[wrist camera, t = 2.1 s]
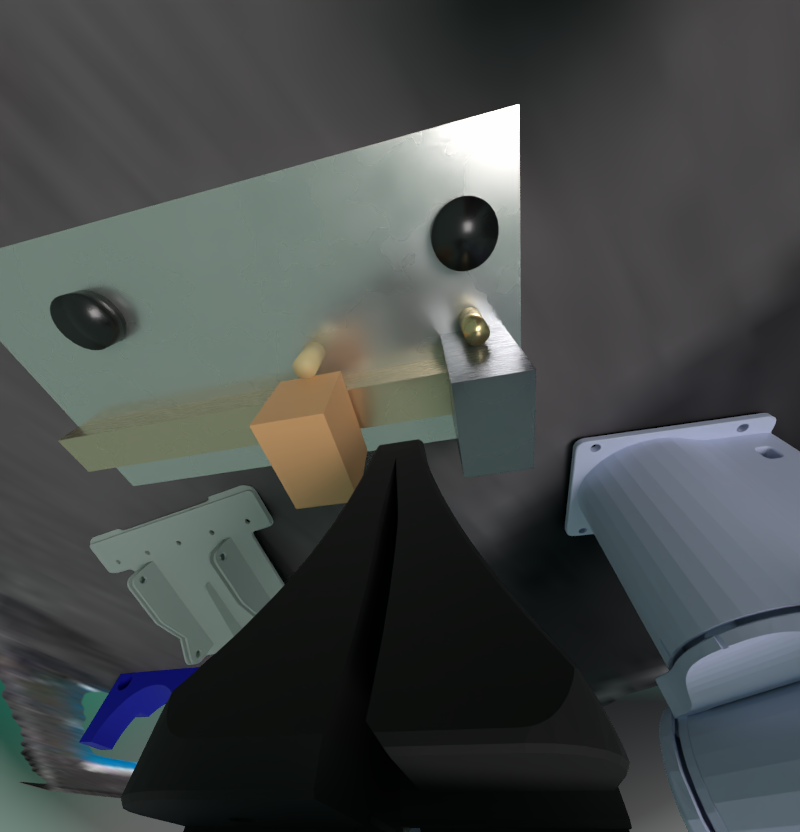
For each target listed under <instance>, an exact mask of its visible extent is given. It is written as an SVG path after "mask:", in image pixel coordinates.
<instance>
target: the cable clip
mask: <svg viewBox="0 0 800 832" xmlns="http://www.w3.org/2000/svg"><path fill="white" fill-rule="evenodd" d="M198 668H199V667H197V668H185V669H173V670H161V671H149V672H138V673H126V674H120V676H119V678H118V679H117V681H116V683H115V684H114V686H113V687H112V689H111V691H110V692H109V694H108V696H107V697H106V699H105V701H104V702H103V704H102V706H101V707H100V709H99V711H98V712H97V714H96V716H95V717H94V719H93V720H92V722H91V724H90V725H89V727H88V729H87V730H86V732H85V733H84V735H83V737H82V738H81V740H80V743H83V744H86V745H88V746H91V747H94V748H97V749H100V750H108V749H112V748H113V747H114V745H115V743H116V742H117V740H118V739H119V737H120V736H121V734H122V733H123V731H124V730H125V729H126V727H127V726H128V725H129V724H130V722H131V721H132V720H133V719H134V718H135V717H149V716H150V715H151V714H152V713H153V712H154V711H156V710H157V709H158V708H160V707H161V706H163V705H164V704H166V703H167V701H168V699H169V697H170V695H171V693H172V691H173V690H174V689H176V688H177V687H178V686H179V685H180V684H181V683H183V682H184V681H185V680H186V679H187V678H188V677H189V676H191V675H192V674H193V673H194V672H195V671H196V670H197V669H198Z"/></svg>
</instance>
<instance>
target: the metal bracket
mask: <svg viewBox="0 0 800 832" xmlns="http://www.w3.org/2000/svg"><path fill="white" fill-rule="evenodd" d="M208 498H209V500H208V501H207V502H204V503H201V504H198V505H195V506H193V507H190V508H187V509H184V510H181V511H178V512H175V513H172V514H170V515H167V516H164V517H161V518H158V519H155V520H152V521H149V522H147V523H144V524H141V525H138V526H135V527H132V528H129V529H126V530H121V529H116V530H114V531H111V532H108V533H105V534H102V535H99V536H97V537H94V538H92V540H91V545H90V548H91V550H92V551H93V552H94V554H95V555H96V556H97V557H98V559H99V560H100V561H101V563H102V564H103V565H104V566H105V568H106V569H107V570H108V571H109V572H110V573H118V572H122V571H125V570H128V569H131V570H134V571H135V573H133V574H132V575H131V576H130V577H129V579H128V582H127V586H128V588H129V590H130V591H131V592H132V594H133V595H134V596H135V598H136V599H137V600H138V601H139V603H140V604H141V605H142V607H143V608H144V609H145V610H146V612H147V613H148V614H149V616H150V617H151V618H152V620H153V621H154V622H155V623H156V624H157V625H158V626H160V627H162V628H163V629H165V630H166V631H168V632H170V633H171V634H173V635H174V636H176V637H178V638H179V639H180V641H181V646H182V650H183V654H184V659H185V662H186V663H187V664H188V665H192V664H197V663H200V662H201V661H202V660H203V659H204V657H205V656H206V655H211V654H215V653H216V652H217V651H219V650H220V649H221V648H222V647H223V646H224V645H225V644H226V643H227V642H228V641H230V640H231V639H232V638H233V637H234V636H235V635H236V634H237V633H238V632H239V631H240V630H241V629H242V628H243V627H244V626H245V625H246V624H247V623H248V622H249V621H250V620H251V619H252V618H253V617H254V616H255V615H256V614H257V613H258V612H259V611H260V610H261V609H262V608H263V607H264V606H265V605H266V604H267V603H268V602H269V601H270V600H271V599H272V598H273V597H274V596H275V595H276V594H277V593H278V591H279V590H280V589H281V588H282V587H283V586H284V585H285V584H284V583H283V581H282V580H281V578H280V576H279V575H278V573H277V571H276V570H275V568H274V567H273V565H272V563H271V562H270V560H269V559H268V557H267V555H266V554H265V552H264V550H263V549H262V547H261V546H260V544H259V542H258V541H257V539H256V537H255V536H254V533H253V532H254V531H257V530H260V529H263V528H267V527H270V526H271V525H272V524H273V522H274V521H273V518H272V517H271V515H270V513H269V512H268V510H267V508H266V507H265V505H264V503H263V501H262V500H261V498H260V496H259V495H258V493H257V491H256V490H255V489H254V488H253V487H252V486H246V485H241V486H238V487H235V488H233V489H230V490H227V491H224V492H221V493H218V494H216V495H213V496H210V497H208ZM246 519H248V520H249V521H250V522H247V520H246ZM211 530H212V531H214V533H213V532H212V531H211ZM179 541H180V542H181V543H180V542H179ZM139 580H140V581H139Z"/></svg>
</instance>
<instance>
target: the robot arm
mask: <svg viewBox="0 0 800 832" xmlns="http://www.w3.org/2000/svg"><path fill="white" fill-rule="evenodd" d="M775 423H776V418H775V417H773V416H771V415H770V414H768V413H760V414H753V415H745V416H738V417H731V418H724V419H717V420H710V421H703V422H696V423H688V424H681V425H674V426H667V427H660V428H653V429H646V430H639V431H632V432H624V433H617V434H610V435H603V436H596V437H589V438H583V439H580V440H578V441H576V442H575V444H574V446H573V453H572V462H571V472H570V481H569V491H568V500H567V510H566V519H565V531H566V533H567V534H568V535H570V536H579V535H589V534H594V535H595V537H596V538H597V540H598V542H599V544H600V546H601V548H602V549H603V551H604V553H605V555H606V557H607V558H608V560H609V562H610V564H611V566H612V567H613V569H614V571H615V573H616V575H617V577H618V578H619V580H620V582H621V584H622V586H623V587H624V589H625V591H626V593H627V595H628V596H629V598H630V600H631V602H632V604H633V606H634V607H635V609H636V611H637V613H638V615H639V616H640V618H641V620H642V622H643V624H644V625H645V627H646V629H647V631H648V633H649V634H650V636H651V638H652V640H653V642H654V644H655V645H656V647H657V649H658V651H659V653H660V654H661V656H662V658H663V660H664V662H665V663H666V665H667V667H668V669H669V671H668V672H667V673H665V674H663V675H661V676H659V677H657V678H656V682H657V684H658V686H659V688H660V690H661V692H662V694H663V696H664V698H665V699H666V702H667V704H668V705H669V707H667V708H666V709H665V710H664V712H663V714H662V716H661V720H660V726H659V728H660V744H661V750H662V756H663V760H664V765H665V770H666V774H667V778H668V781H669V785H670V788H671V791H672V794H673V796H674V799H675V802H676V805H677V807H678V809H679V812H680V814H681V817H682V819H683V821H684V823H685V825H686V828H687V830H688V832H800V451H798V450H796V449H795V448H793V447H792V446H790V445H789V444H787V443H786V442H784V441H782V440H781V439H779V438H778V437H776V436H775V435H773V434H772V433H771V431H772V429H773V427H774V425H775ZM595 444H597V445H595ZM593 445H595V446H594V447H592V446H593ZM628 769H629V760H628V757H627V754H626V752H625V750H624V747H623V745H622V743H621V741H620V739H619V737H618V735H617V733H616V731H615V729H614V727H613V725H612V723H611V721H610V719H609V717H608V716H607V714H606V712H605V711H604V709H603V707H602V705H601V704H600V702H599V701H598V699H597V697H596V696H595V694H594V692H593V691H592V689H591V688H590V686H589V685H588V683H587V682H586V680H585V678H584V677H583V675H582V674H581V672H580V671H579V669H578V667H577V666H576V664H575V663H574V662H573V661H572V660H571V659H570V658H569V657H568V655H567V654H566V653H565V652H564V651H563V650H562V649H561V648H560V647H559V646H558V645H557V644H556V643H555V642H554V641H553V640H552V639H551V638H550V636H549V635H548V634H547V633H546V632H545V631H544V630H543V629H542V628H541V627H540V626H539V625H538V623H537V622H536V621H535V620H534V619H533V618H532V617H531V616H530V614H529V613H528V612H527V611H526V610H525V609H524V608H523V606H522V605H521V604H520V603H519V602H518V601H517V600H516V598H515V597H514V596H513V595H512V594H511V593H510V591H509V590H508V589H507V588H506V586H505V585H504V584H503V583H502V581H501V580H500V579H499V578H498V576H497V575H496V574H495V573H494V571H493V570H492V569H491V568H490V566H489V565H488V564H487V563H486V561H485V560H484V559H483V557H482V556H481V555H480V553H479V552H478V551H477V549H476V548H475V546H474V545H473V544H472V542H471V541H470V539H469V538H468V536H467V535H466V534H465V532H464V531H463V529H462V528H461V526H460V524H459V523H458V521H457V520H456V518H455V517H454V515H453V513H452V512H451V510H450V508H449V506H448V505H447V503H446V501H445V500H444V498H443V496H442V494H441V492H440V490H439V488H438V486H437V484H436V482H435V480H434V478H433V476H432V473H431V471H430V469H429V466H428V463H427V458H426V454H425V449H424V445H423V441H421V440H419V439H416V440H410V441H403V442H396V443H390V444H383V445H379V446H378V448H377V449H376V451H375V453H374V455H373V457H372V459H371V461H370V463H369V465H368V467H367V469H366V471H365V473H364V474H363V476H362V478H361V480H360V482H359V483H358V485H357V487H356V488H355V490H354V492H353V494H352V495H351V497H350V499H349V500H348V502H347V503H346V505H345V507H344V508H343V510H342V511H341V513H340V514H339V516H338V517H337V519H336V520H335V522H334V523H333V525H332V526H331V528H330V529H329V530H328V532H327V533H326V535H325V536H324V537H323V539H322V540H321V541H320V543H319V544H318V545H317V546H316V548H315V549H314V550H313V552H312V553H311V554H310V555H309V557H308V558H307V559H306V560H305V562H304V563H303V564H302V565H301V566H300V567H299V569H298V570H297V571H296V572H295V573H294V574H293V576H292V577H291V578H290V579H289V580H288V581H287V583H286V584H285V585H284V586H283V587H282V588H281V589H280V590H279V591H278V593H277V594H276V595H275V596H274V597H273V598H272V599H271V600H270V601H269V602H268V603H267V604H266V605H265V606H264V607H263V608H262V609H261V610H260V611H259V612H258V613H257V614H256V615H255V616H254V617H253V618H252V619H251V620H250V621H249V622H248V623H247V624H246V625H245V626H244V627H243V628H242V629H241V630H240V631H239V632H238V633H237V634H236V635H235V636H234V637H233V638H232V639H231V640H230V641H228V642H227V643H226V644H225V645H224V646H223V647H222V648H221V649H220V650H219V651H217V652H216V653H215V654H214V655H213V656H212V657H211V658H210V659H208V660H207V661H206V662H205V663H204V664H203V665H202V666H201V667H199V668H198V669H197V670H196V671H195V672H194V673H193V674H192V675H191V676H189V677H188V678H187V679H186V680H185V681H184V682H183V683H181V684H180V685H179V686H178V687H177V688H176V689H174V690H173V691H172V693H171V695H170V697H169V699H168V701H167V703H166V705H165V707H164V709H163V711H162V713H161V715H160V717H159V719H158V721H157V723H156V725H155V727H154V730H153V732H152V734H151V736H150V738H149V740H148V742H147V744H146V747H145V748H144V750H143V752H142V755H141V757H140V759H139V761H138V763H137V765H136V767H135V769H134V771H133V773H132V775H131V778H130V780H129V782H128V784H127V786H126V788H125V790H124V792H123V794H122V796H121V801H122V805H123V808H124V809H125V810H127V811H129V812H132V813H135V814H138V815H142V816H146V817H150V818H154V819H158V820H163V821H166V822H171V823H175V824H179V825H183V826H185V829H184V831H183V832H409V831H410V829H411V828H420V830H421V832H629V829H631V828H632V827H631V823H630V819H629V816H628V813H627V810H626V808H625V805H624V802H623V799H622V796H621V794H620V791H619V788H618V786H619V784H620V783H621V782H622V781H623V779H624V778H625V777H626V774H627V772H628Z"/></svg>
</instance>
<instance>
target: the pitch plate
mask: <svg viewBox="0 0 800 832" xmlns="http://www.w3.org/2000/svg"><path fill="white" fill-rule="evenodd" d="M0 341H1V342H2V344H3V345H4V346H5V347H6V348H7V349H8V350H9V351H10V352H11V353H12V354H13V356H14V357H15V358H16V359H17V360H18V361H19V362H20V363H21V364H22V365H23V366H24V367H25V369H26V370H27V371H28V372H29V373H30V374H31V375H32V376H33V377H34V378H35V379H36V381H37V382H38V383H39V384H40V385H41V386H42V387H43V388H44V389H45V390H46V391H47V393H48V394H49V395H50V396H51V397H52V398H53V399H54V400H55V401H56V402H57V403H58V405H59V406H60V407H61V408H62V409H63V410H64V411H65V412H66V413H67V414H68V415H69V417H70V418H71V419H72V420H73V421H74V422H75V423H76V424H77V425H78V426H79V427H77V428H76V429H74V430H73V431H71V432H70V433H68V434H67V435H65V436H64V437H63V438H61V439H60V440H58V441H59V442H60V443H61V444H62V445H63V446H64V447H65V448H66V449H67V450H68V451H69V452H70V453H71V454H72V455H73V456H74V457H75V458H76V459H77V460H78V461H79V462H80V463H81V464H82V465H83V466H84V467H85V468H86V469H87V471H88V472H90V471H96V470H102V469H109V468H115V467H116V468H117V469H118V470H119V471H120V472H121V473H122V474H123V475H124V476H125V478H126V479H127V480H128V481H129V482H130V483H131V484H132V485H133V486H137V485H144V484H151V483H158V482H164V481H171V480H178V479H185V478H192V477H198V476H205V475H212V474H219V473H225V472H232V471H239V470H246V469H252V468H259V467H266V466H272V465H271V464H270V462H269V460H268V458H267V456H266V455H265V453H264V451H263V449H262V448H261V446H260V444H259V442H258V441H257V439H256V437H255V435H254V433H253V432H252V430H251V428H250V426H249V425H250V424H251V422H252V421H253V420H254V418H255V417H256V415H257V414H258V413H259V411H260V410H261V408H262V407H263V406H264V404H265V403H266V401H267V400H268V399H269V397H270V396H271V394H272V393H273V392H274V390H275V389H276V387H277V386H278V385H279V383H280V382H283V381H288V380H294V379H299V378H300V377H298V376H297V375H296V374H295V372H294V371H293V362H294V361H295V359H296V358H297V356H298V355H299V354H300V352H301V351H302V350H303V348H304V347H305V345H306V344H307V343H309V342H318V343H320V344H321V345H322V346H323V347H324V349H325V352H326V354H325V358H324V359H323V361H322V363H321V365H320V367H319V369H318V370H317V372H316V374H315V376H316V375H321V374H326V373H332V372H337V371H341V374H342V376H343V379H344V382H345V385H346V388H347V391H348V394H349V397H350V400H351V403H352V406H353V409H354V412H355V415H356V418H357V421H358V424H359V427H360V430H361V432H362V435H363V438H364V441H365V444H366V447H367V451H374V450H376V449H377V448H378V446H379V445H383V444H390V443H396V442H403V441H410V440H416V439H419V440H421V441H423V443H428V442H435V441H442V440H449V439H455V438H457V444H458V449H459V454H460V459H461V464H462V469H463V474H464V478H465V477H473V476H481V475H488V474H496V473H503V472H511V471H519V470H526V469H534V437H535V390H536V369H535V367H534V366H533V365H532V363H531V362H530V361H529V359H528V358H527V357H526V355H525V354H524V353H523V351H522V350H521V286H520V119H519V104H517V105H513V106H510V107H506V108H503V109H499V110H495V111H492V112H488V113H485V114H481V115H477V116H474V117H470V118H467V119H463V120H459V121H456V122H452V123H449V124H445V125H442V126H438V127H434V128H431V129H427V130H424V131H420V132H416V133H413V134H409V135H406V136H402V137H398V138H395V139H391V140H388V141H384V142H380V143H377V144H373V145H370V146H366V147H362V148H359V149H355V150H352V151H348V152H344V153H341V154H337V155H334V156H330V157H326V158H323V159H319V160H316V161H312V162H308V163H305V164H301V165H298V166H294V167H290V168H287V169H283V170H280V171H276V172H273V173H269V174H265V175H262V176H258V177H255V178H251V179H247V180H244V181H240V182H237V183H233V184H229V185H226V186H222V187H219V188H215V189H211V190H208V191H204V192H201V193H197V194H193V195H190V196H186V197H183V198H179V199H175V200H172V201H168V202H165V203H161V204H157V205H154V206H150V207H147V208H143V209H139V210H136V211H132V212H129V213H125V214H121V215H118V216H114V217H111V218H107V219H104V220H100V221H96V222H93V223H89V224H86V225H82V226H78V227H75V228H71V229H68V230H64V231H60V232H57V233H53V234H50V235H46V236H42V237H39V238H35V239H32V240H28V241H24V242H21V243H17V244H14V245H10V246H6V247H3V248H0Z"/></svg>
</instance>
